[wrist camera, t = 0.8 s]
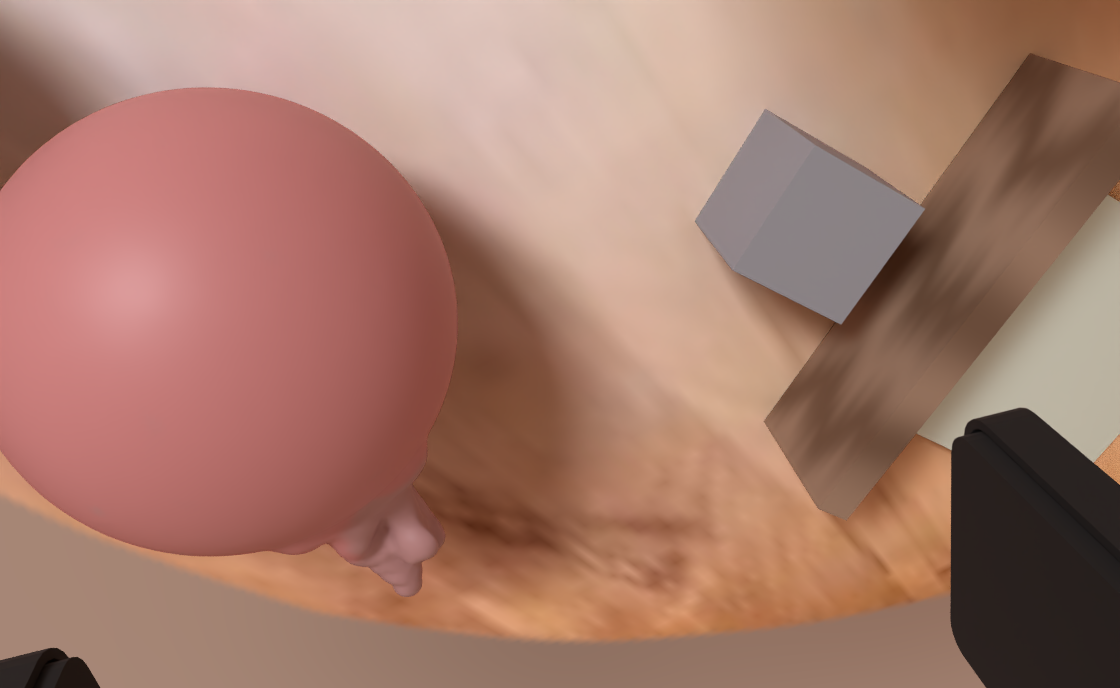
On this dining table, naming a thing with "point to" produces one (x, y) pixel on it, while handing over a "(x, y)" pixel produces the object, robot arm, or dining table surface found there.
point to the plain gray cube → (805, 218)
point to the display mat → (1054, 349)
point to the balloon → (225, 332)
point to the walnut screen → (952, 279)
